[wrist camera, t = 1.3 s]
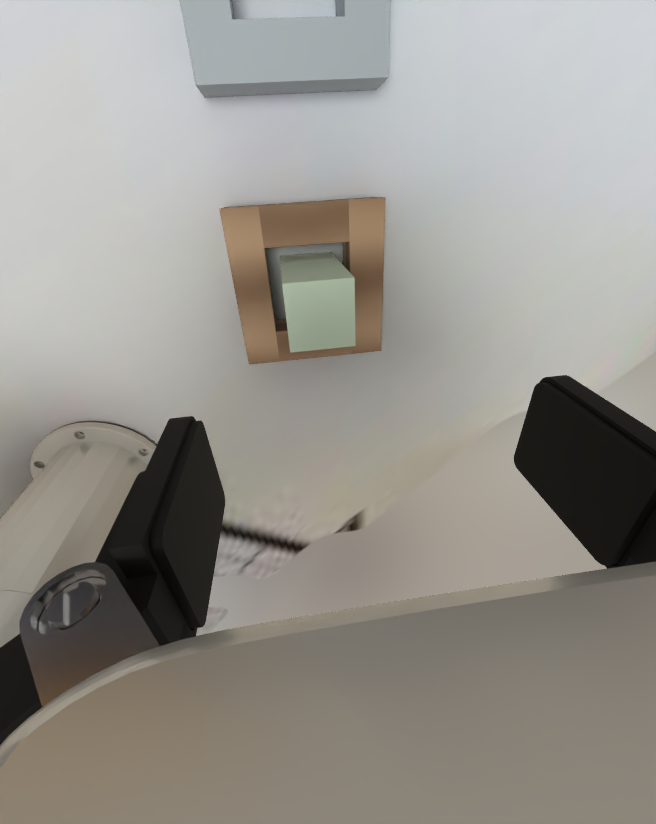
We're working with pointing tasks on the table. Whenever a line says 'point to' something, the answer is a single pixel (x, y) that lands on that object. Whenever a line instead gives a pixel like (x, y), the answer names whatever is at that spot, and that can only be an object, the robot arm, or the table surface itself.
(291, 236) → the socket
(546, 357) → the table surface
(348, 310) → the plug
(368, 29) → the socket
